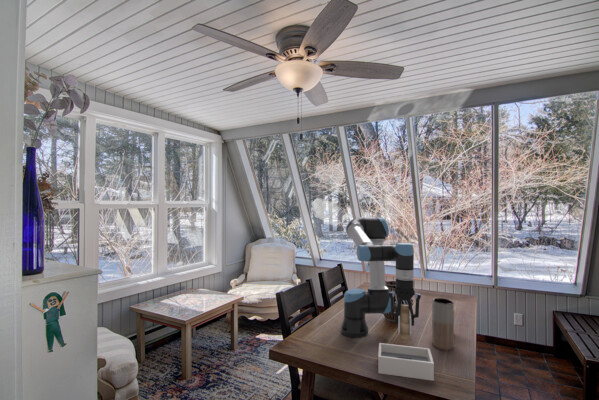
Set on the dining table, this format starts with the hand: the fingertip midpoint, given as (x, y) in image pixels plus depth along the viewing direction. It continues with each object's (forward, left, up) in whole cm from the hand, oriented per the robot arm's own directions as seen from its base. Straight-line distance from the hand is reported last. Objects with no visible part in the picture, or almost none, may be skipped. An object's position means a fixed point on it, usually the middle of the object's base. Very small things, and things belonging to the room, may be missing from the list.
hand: (404, 332), depth 140 cm
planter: (+20, +29, -16) cm, 39 cm away
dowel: (0, 0, -3) cm, 3 cm away
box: (0, 0, -16) cm, 16 cm away
